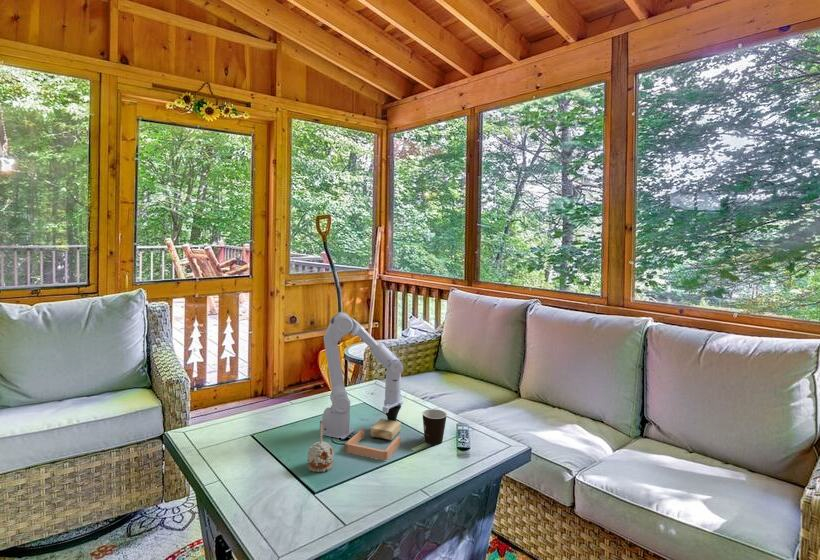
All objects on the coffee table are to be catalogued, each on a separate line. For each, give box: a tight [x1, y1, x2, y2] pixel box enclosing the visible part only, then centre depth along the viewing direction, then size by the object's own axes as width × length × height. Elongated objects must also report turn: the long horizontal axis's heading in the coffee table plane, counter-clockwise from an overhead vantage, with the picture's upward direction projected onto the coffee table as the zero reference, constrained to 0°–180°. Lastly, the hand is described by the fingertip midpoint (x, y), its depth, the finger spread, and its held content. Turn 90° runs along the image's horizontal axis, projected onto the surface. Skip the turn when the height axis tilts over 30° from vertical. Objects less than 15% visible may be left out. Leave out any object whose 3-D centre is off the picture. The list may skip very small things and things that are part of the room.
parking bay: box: [344, 428, 402, 461], centre depth 157 cm, size 15×13×3 cm
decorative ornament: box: [307, 419, 335, 473], centre depth 143 cm, size 8×8×15 cm
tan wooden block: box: [370, 418, 402, 442], centre depth 167 cm, size 8×9×4 cm
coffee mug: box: [422, 408, 448, 446], centre depth 165 cm, size 12×9×10 cm
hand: (391, 424), depth 172 cm, fingers closed
